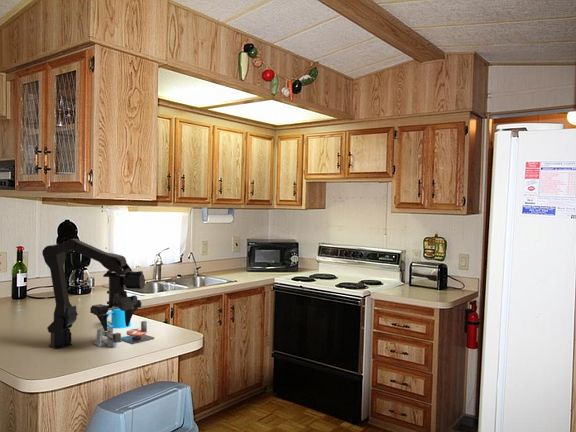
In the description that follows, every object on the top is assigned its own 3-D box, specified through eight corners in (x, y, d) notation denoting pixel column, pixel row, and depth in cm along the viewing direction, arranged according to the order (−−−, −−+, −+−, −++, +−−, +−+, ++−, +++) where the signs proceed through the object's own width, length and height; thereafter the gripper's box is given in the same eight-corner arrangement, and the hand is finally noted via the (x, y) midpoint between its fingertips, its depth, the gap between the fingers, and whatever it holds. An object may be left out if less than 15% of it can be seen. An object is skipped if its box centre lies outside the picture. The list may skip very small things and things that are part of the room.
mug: (123, 322, 226) (123, 305, 226) (134, 325, 221) (134, 308, 220) (99, 328, 217) (99, 309, 216) (109, 331, 211) (109, 312, 211)
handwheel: (123, 337, 196) (123, 323, 196) (131, 332, 204) (131, 318, 204) (142, 338, 195) (142, 324, 195) (150, 333, 203) (150, 319, 203)
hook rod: (115, 343, 187) (115, 334, 186) (97, 336, 195) (97, 328, 195) (120, 341, 188) (120, 333, 188) (102, 335, 196) (102, 327, 196)
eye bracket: (104, 348, 187) (104, 333, 187) (94, 344, 192) (94, 329, 192) (121, 344, 192) (121, 329, 192) (110, 340, 197) (110, 326, 197)
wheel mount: (133, 344, 193) (133, 341, 192) (119, 339, 199) (119, 336, 199) (154, 338, 200) (154, 335, 200) (140, 334, 207) (140, 331, 207)
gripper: (105, 294, 175) (105, 337, 176) (149, 287, 190) (149, 327, 190) (89, 290, 182) (89, 332, 183) (133, 284, 197) (133, 322, 197)
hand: (116, 328), depth 188 cm, fingers open, 9 cm apart
